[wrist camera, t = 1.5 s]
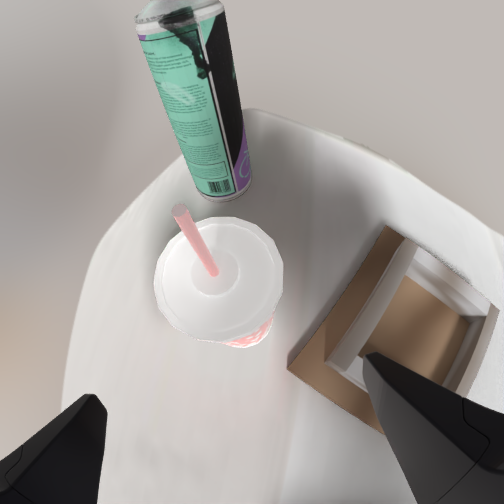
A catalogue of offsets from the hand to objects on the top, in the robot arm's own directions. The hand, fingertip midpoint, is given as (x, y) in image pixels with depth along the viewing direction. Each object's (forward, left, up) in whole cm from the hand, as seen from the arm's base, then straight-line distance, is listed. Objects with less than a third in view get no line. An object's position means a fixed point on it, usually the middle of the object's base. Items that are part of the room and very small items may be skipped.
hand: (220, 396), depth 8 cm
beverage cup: (+4, -3, -12) cm, 13 cm away
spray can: (+14, -12, -12) cm, 22 cm away
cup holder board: (-8, -9, -12) cm, 17 cm away
